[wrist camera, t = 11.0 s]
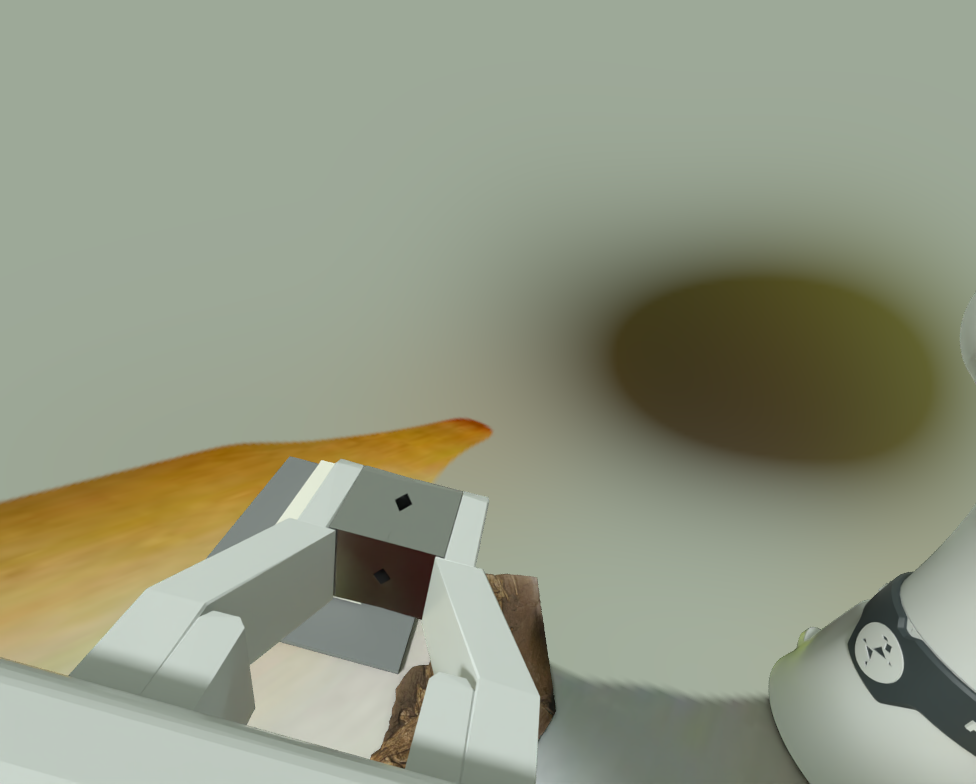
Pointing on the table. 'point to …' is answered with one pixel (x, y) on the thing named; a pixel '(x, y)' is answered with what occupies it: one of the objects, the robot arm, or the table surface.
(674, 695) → the table surface
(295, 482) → the mat
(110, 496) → the table surface
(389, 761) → the wooden fragment
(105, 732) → the robot arm
